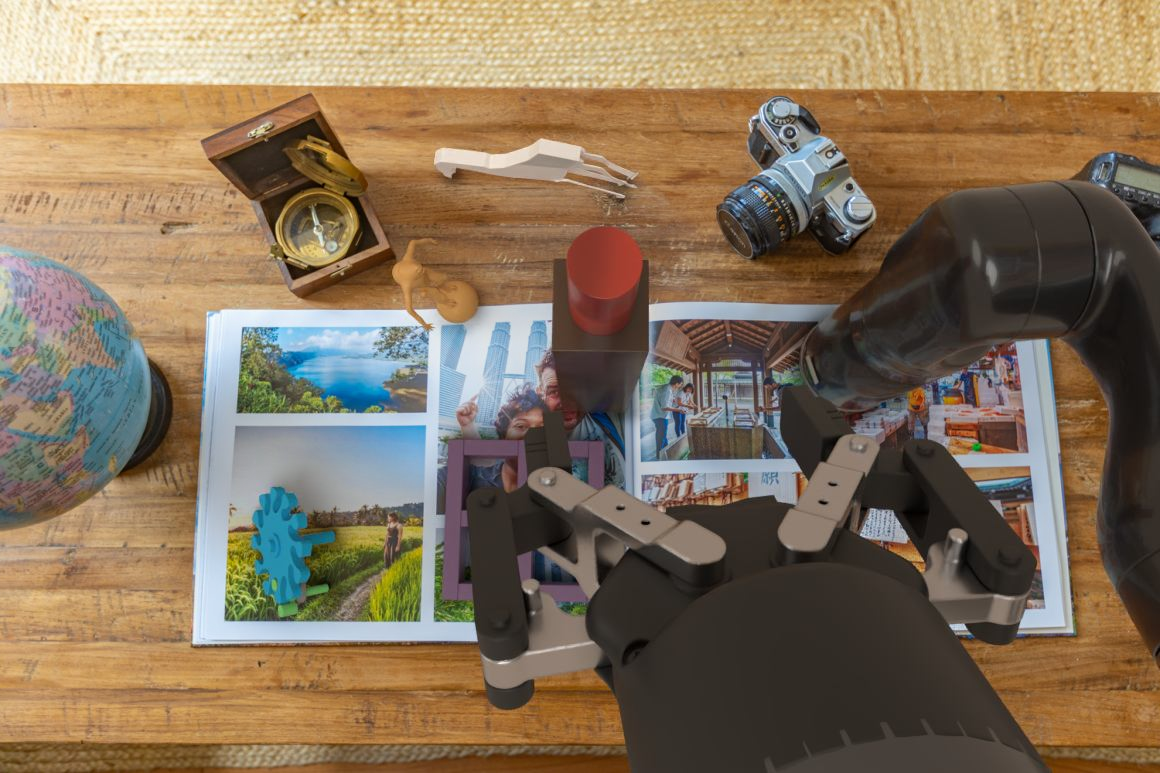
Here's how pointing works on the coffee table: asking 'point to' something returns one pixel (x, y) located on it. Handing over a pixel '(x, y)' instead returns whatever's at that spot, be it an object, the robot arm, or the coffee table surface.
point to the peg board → (515, 449)
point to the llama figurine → (532, 163)
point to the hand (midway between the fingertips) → (673, 419)
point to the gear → (285, 550)
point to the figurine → (434, 289)
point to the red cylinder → (603, 279)
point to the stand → (597, 352)
